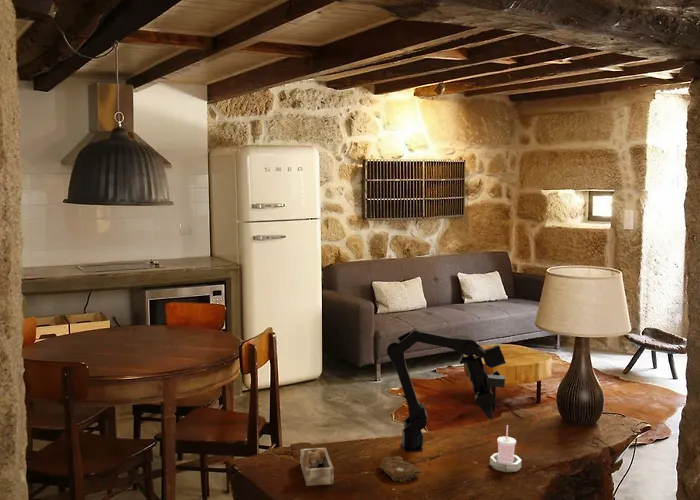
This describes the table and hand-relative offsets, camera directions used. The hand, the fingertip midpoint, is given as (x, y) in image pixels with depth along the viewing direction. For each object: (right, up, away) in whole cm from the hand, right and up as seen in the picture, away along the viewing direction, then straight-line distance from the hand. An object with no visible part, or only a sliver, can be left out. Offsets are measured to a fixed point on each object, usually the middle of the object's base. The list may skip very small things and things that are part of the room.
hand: (489, 414), depth 245 cm
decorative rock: (-33, -15, -17) cm, 40 cm away
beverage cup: (+3, -15, -10) cm, 18 cm away
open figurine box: (-59, -15, -19) cm, 64 cm away
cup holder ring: (+3, -15, -10) cm, 18 cm away
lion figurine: (-59, -15, -19) cm, 64 cm away
